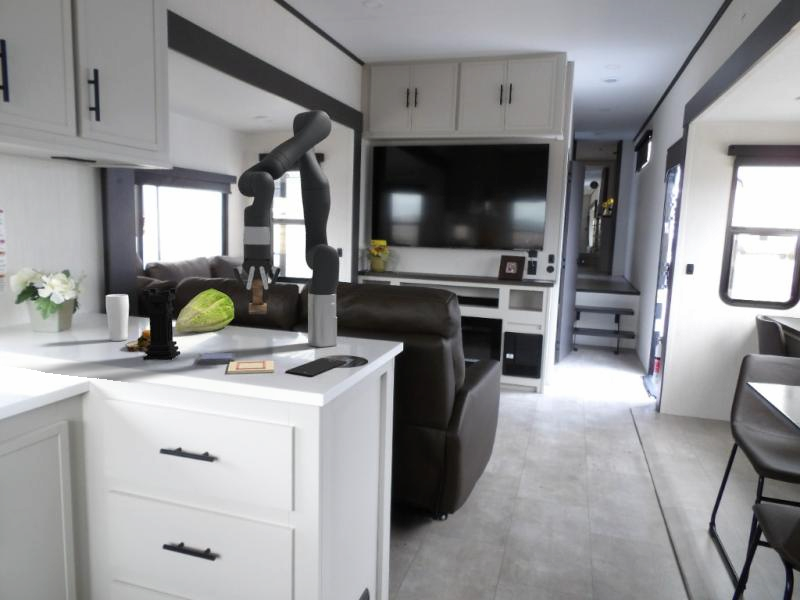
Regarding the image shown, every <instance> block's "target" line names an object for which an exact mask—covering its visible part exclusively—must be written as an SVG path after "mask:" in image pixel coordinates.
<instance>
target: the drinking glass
mask: <svg viewBox="0 0 800 600" xmlns="http://www.w3.org/2000/svg"><path fill="white" fill-rule="evenodd" d="M129 301H130V299H129V295H128V294H126V293H117V294H115V293H113V294H107V295H105V309H106V310H105V311H106V316H107V317H106V318H107V324H108V332H109V340H110V341H112V342H123V341H127V340H128V339H129V337H128V336H129V335H128V330H129V311H130V302H129Z"/></svg>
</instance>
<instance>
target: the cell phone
mask: <svg viewBox="0 0 800 600" xmlns="http://www.w3.org/2000/svg"><path fill="white" fill-rule="evenodd" d="M347 363H348V362H347V361H346V360H340V359H335V358H334V359H333V358H325V357H320V358H317V359H315V360H312V361H309V362H306V363H304V364H300V365H298V366H295V367H293V368H290V369H286V370H285V374H289V375H294V376H302V377H307V378H314V377H317V376H318V375H321V374H324V373H327V372H329V371H332V370H334V369H336V368H339V367H341V366H344V365H346V364H347Z"/></svg>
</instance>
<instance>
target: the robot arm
mask: <svg viewBox="0 0 800 600" xmlns="http://www.w3.org/2000/svg"><path fill="white" fill-rule="evenodd" d="M292 131H293V136H292V137H290V138H288V139H287V140H285V141H283V142H282V143H280V144H279V145H277V146H275V147H273V149H272V150H271V151H270V152H269V153H268V154H267V155H266V156H265V157H264V158H263V159H262V160H261V161H259V162H257V163H255V164H254V165H252V166H251V167H249V168H248V169H246V170H244V172H242V173H241V175H239V178H238V180H237V188H238V191H239V193H240V194H241V195H243V196H244V197H248V198H253V201H252V204H251V205H248V206H246V207H245V208H244V209H243V233H242V235H243V239H242V244H243V262H242V264H241V265H239V266H237V267H233V269H232V270H233V273H234V275H235V277H236V280H237V282H238V285H239V287H240V288H243V289H245V290H246V300H247V301H248V302H249V303H252V287H251V284H252V280H253V279H254V278H257V277H258V278H262V281H263V285H264V290H263V297H264V303H267V301H269V290H270V289H271V288H275V286H276V283H277V281H278V278H279V276H280V274H281V271H282V270H281V267H278V266H277V267H276V266H275V265H273V263H272V261H271V240H272V239H271V232H270V231H271V230H270V210H271V207H272V203H273V199H274V195H275V189H276V188H275V187H276V186H275V181H276V180H279V179H281V178H282V177H283V176H284V174H286V173H287V171H288V170H289V169H290V168H291V167H292V166H293V165H294V164H295V163H296V162H297V161H298V169H299V177H300V178H299V179H300V190H301V191H300V192H301V195H300V196H301V203H302V211H303V212H302V213H303V221H304V230H305V231H304V232H305V247H304V248H305V251H304V253H305V255H304V257H305V258H304V259H305V263H306V265H307V266H308V268H309V269H310V270H311V271H312V278H311V282H310V283H309V284H308V289H307V293H308V295H307V298H308V299H307V306H308V309H307V313H308V314H307V315H308V316H307V319H308V320H307V321H308V322H307V323H308V324H307V331H308V333H307V334H308V335H307V336H308V337H307V344H308V346H310V347H311V346H312V347H317V348H318V347H319V348H320V347H321V348H323V347H324V348H325V347H333V346H338V345H337V344H338V342H337V341H338V340H337V339H338V317H337V290H338V289H337V288H338V286H339V284H340V283H339V281H340V254H339V252H338V251H337V249H336V248H335V247H334V246H332V245H331V246H330V245H329V243H328V242H329V241H328V236H327V235H328V234H327V233H328V232H327V225H328V220H329V216H330V212H331V204H332V203H331V200H332V199H331V189H330V188H331V187H330V182H329V180H328V177H327V176H326V174H325V172H324V171H323V169H322V168H321V165H320V164H319V162H318V160H317V157H316V152H315V151H316V150H315V146H317V145H318V144H319V143H321V142H323V141H324V140H326V139H327V138H328V137H329V136H330V134H331V132H332V121H331V118H330V116H329V115H328V113H327V112H325V111H323V110H320V109H315V110H308V111H303V112H299V113H297V114H296V115H295V116H294V118H293V120H292ZM243 270H244V273H246V275H247V276H248V278H247V283H245V281H244V279H243V277H242V275H241V274H242V273H243ZM270 271H272V274H273V276H272V279H271V282H270V283H268V279H267V275H268V274H269V272H270Z"/></svg>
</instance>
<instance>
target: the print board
mask: <svg viewBox="0 0 800 600" xmlns="http://www.w3.org/2000/svg"><path fill="white" fill-rule="evenodd" d="M274 372H275V360H253V361H252V360H249V361H248V360H246V361H244V360H243V361H235V362H230V364H228V369H227V375H232V374H233V375H236V374H238V375H239V374H261V373H262V374H265V373H266V374H267V373H274Z"/></svg>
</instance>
